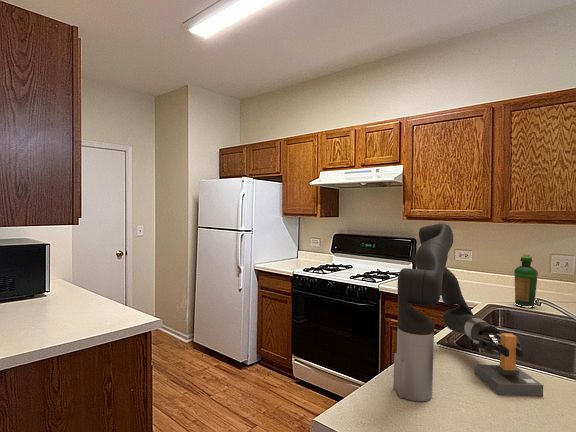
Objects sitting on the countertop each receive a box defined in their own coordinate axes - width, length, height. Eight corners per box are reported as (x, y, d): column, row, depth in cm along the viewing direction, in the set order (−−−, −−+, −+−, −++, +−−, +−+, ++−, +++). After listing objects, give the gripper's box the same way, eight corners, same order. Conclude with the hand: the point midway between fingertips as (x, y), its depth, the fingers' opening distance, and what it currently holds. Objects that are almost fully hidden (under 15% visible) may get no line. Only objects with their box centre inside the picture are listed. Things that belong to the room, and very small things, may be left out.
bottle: (509, 303, 201) (511, 252, 200) (531, 304, 199) (533, 253, 198) (517, 308, 190) (519, 255, 190) (540, 309, 188) (542, 256, 188)
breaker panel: (498, 394, 97) (498, 383, 97) (474, 373, 110) (475, 364, 110) (543, 396, 97) (543, 384, 97) (514, 375, 110) (514, 365, 110)
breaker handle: (503, 375, 102) (504, 336, 102) (495, 369, 105) (497, 332, 105) (518, 375, 102) (520, 337, 102) (511, 369, 105) (512, 333, 105)
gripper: (460, 320, 118) (489, 339, 100) (503, 321, 118) (540, 340, 100) (459, 343, 118) (488, 366, 101) (502, 344, 118) (539, 367, 101)
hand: (514, 353), depth 101 cm, fingers closed on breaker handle, 3 cm apart
